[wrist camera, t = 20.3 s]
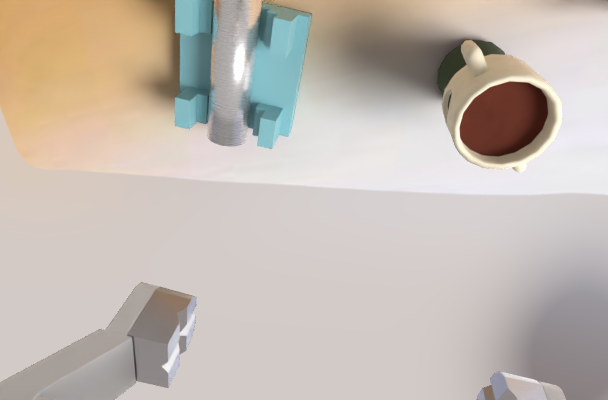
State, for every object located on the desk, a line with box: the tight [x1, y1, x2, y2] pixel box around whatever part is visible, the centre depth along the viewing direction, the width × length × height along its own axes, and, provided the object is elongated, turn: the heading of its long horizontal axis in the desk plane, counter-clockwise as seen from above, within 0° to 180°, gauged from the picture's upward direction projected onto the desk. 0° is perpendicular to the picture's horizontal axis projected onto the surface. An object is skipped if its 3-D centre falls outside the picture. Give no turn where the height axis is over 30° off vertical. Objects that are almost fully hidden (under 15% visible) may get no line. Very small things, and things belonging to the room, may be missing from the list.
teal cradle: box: [175, 0, 312, 149], centre depth 39 cm, size 12×12×6 cm
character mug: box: [437, 40, 562, 172], centre depth 34 cm, size 11×7×13 cm, turn 32°
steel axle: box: [207, 0, 262, 146], centre depth 38 cm, size 14×4×4 cm, turn 170°
